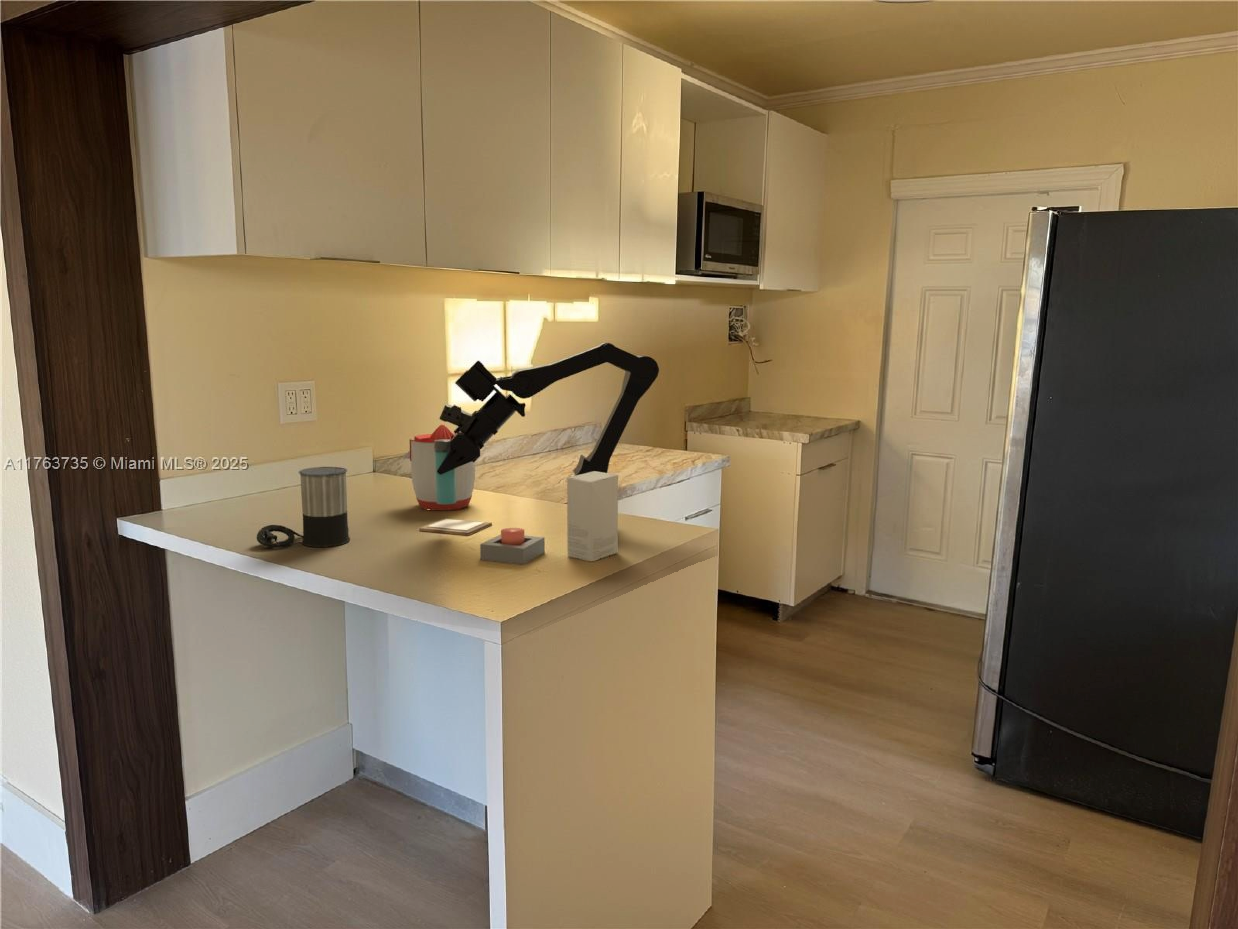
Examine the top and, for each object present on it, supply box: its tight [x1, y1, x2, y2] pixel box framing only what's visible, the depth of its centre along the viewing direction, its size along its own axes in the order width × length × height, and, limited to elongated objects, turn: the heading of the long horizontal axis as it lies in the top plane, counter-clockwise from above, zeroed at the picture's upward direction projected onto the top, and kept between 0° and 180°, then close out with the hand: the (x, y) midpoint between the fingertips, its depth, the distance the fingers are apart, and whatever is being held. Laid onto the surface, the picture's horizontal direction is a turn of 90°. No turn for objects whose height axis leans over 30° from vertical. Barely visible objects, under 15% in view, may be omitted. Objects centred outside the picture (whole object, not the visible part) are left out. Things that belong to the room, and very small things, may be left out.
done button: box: [500, 527, 525, 546], centre depth 161 cm, size 4×4×3 cm
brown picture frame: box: [418, 517, 493, 537], centre depth 184 cm, size 12×10×1 cm
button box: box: [479, 533, 546, 565], centre depth 162 cm, size 9×9×3 cm
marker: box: [434, 439, 456, 504], centre depth 177 cm, size 4×4×13 cm
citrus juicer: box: [402, 424, 476, 511], centre depth 204 cm, size 16×17×20 cm
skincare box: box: [566, 471, 619, 562], centre depth 161 cm, size 8×7×16 cm
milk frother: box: [256, 466, 351, 548], centre depth 169 cm, size 14×16×15 cm
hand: (438, 471), depth 176 cm, fingers closed on marker, 4 cm apart
